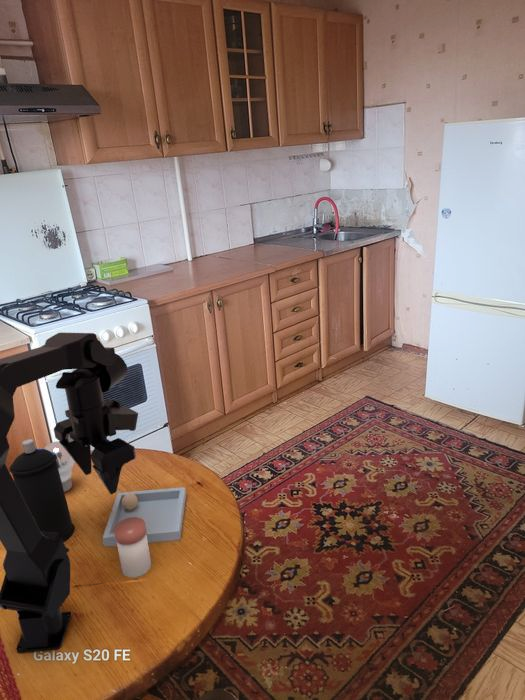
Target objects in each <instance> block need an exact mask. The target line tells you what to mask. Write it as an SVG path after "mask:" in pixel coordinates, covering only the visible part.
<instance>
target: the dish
mask: <svg viewBox="0 0 525 700" xmlns="http://www.w3.org/2000/svg"><path fill="white" fill-rule="evenodd" d="M186 491H187V490H186V487H185V486H184V487H183V486H182V487H170V488H159V489H158V488H157V489H149V490H136V491H126V492H125V491H124V492H118V493H117V495H116V497H115V500H114V502H113V504H112V505H113V506H112V509H111V511H110V515H109V518H108V520H107V523H106V526H105V528H104V533H103V536H102V542H103V543H102V544H103V546H104V547H105V548H106V547H117V541H116V539H115V534H114V527H115V526H116V524H117V523H119V522H120V521H122V520H124V519H126V518H130V517H138V518H141V519H143V520H144V521H145V525H146V535H147V541H148V544H150V543H151V544H152V543H161V542H172V541H174V542H175V541H181V538H182V537H181V536H182V530H183V529H182V528H183V522H184V513H185V507H186V499H187V492H186ZM130 493H131V494H134V495H136V497H137V498H138V504H137V506H136V507H135V508H134V509H132V510H127V509H125V508H124V507H123V506H122V499H123V497H124V496H125V495H126V494H130Z"/></svg>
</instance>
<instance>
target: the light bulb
mask: <svg viewBox="0 0 525 700" xmlns="http://www.w3.org/2000/svg"><path fill="white" fill-rule="evenodd" d="M43 449H46V450H48V451H51V452H53V453H55V454H56V456H57V459H56V462H57V466H58V470H59V474H60V478H61V482H62V485H63V489H64V493H66V492H68V491H70V489H72V487H73V482H72V469H73V467H74V465H75V463H76V462H75V461H74V460H73V458H72V457H71V456H70V455H69V453H68V452H67V451H66V450H65V448H64V447H63V446H62V445H61V444H60V443H59V440H58V441H53V442H50V443H48V444H47V445H46V446H45V447H44V448H43Z"/></svg>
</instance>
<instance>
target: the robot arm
mask: <svg viewBox="0 0 525 700" xmlns="http://www.w3.org/2000/svg"><path fill="white" fill-rule="evenodd" d="M65 370H72V371H71V372H69V371H67V372H66V371H65ZM61 371H63V372H62V373H61V376H60V378H59V379H58V380H57V382H56V384H55V388H56V389H57V390H58V389H61V390H64V391H65V395H66V402H67V407H68V409H67V410H65V411H64V415H65V417H66V418H67V419H64V420H61V421H59V422H57V423H56V425H55V426H54V427H53V432H54V438H55V439H56V440H58V441H59V443H60V444H61V445H62V446H63V447H64V448H65V450H66V451H67V452H68V453H69V455H70V456H71V457H72V458H73V460H74V461H75V462H74V463H75V464H76V465H77V466H78V468H79V469H80V470H81V471H82V473H83V474H84V475H85V476H89V475H91V473H92V468H93V470H94V471H95V473H96V474H97V476H98V477H99V479H100V480H101V482H102V484H103V485H104V486H105V489H106V490H107V491H108V493H109V494H110V495H113V494H115V493H116V492H117V490H118V486H119V481H120V476H121V471H122V470H123V469H122V468H123V466H124V465H126V464H128V463H130V462H131V461H133V460H135V459H136V457H137V455H136V449H135V446H134V445H132V444H130V442H129V443H128V442H127V441H125V440H124V439H121V438H120V437H116V438H115V439H112V440H110V439H108V437H113V436H115V435H117V431H131V432H135V430H136V428H137V422H138V418H139V412H137V411H135V410H133V409H131V408H129V407H125V406H123V405H121V404H120V401H118V400H116V399H112V398H110V399H107V400H106V402H105V403H104V395H103V393H105V392H107V391H109V390H111V389H112V388H113V387H114V386H115V385H117V384H118V383H119V382H121V381H122V380H123V379H124V378H126V375H127V374H128V365H127V363H126V362H125V360H124V359H123V358H122V357H121V356H120V354H117V353H116V351H115V347H109V346H108V347H105V346H104V345H103V343H102V342H101V341H100V340H99V339H98V337H97V334H96V333H93V332H58V333H56V334H54V335H52V336H50V337H49V338H48V339H46V340H45V342H44V345H41V346H39V347H36V348H32V349H29V350H25V351H24V352H23V351H22V352H19V353H16V354H12V355H9V356H5V357H2V358H0V542H1V544H2V546H3V548H4V549H5V551H6V552H5V557H4V560H3V562H2V567H3V570H4V572H5V575H4V577H3V578H4V579H3V581H2V584H1V588H0V608H1V609H2V610H11V611H15V612H16V614H17V617H18V618H17V620H18V623H19V626H20V627H19V628H20V630H21V633H22V634H21V637H20V639H19V641H18V643H17V646H16V648H15V650H16V653H27V652H38V651H48V650H49V651H51V650H58V649H60V648H61V647H62V644H63V642H64V639H65V636H66V633H67V630H68V627H69V625H70V621H71V618H72V612H71V611H62V610H61V607H62V606H63V604H64V603H65V601H66V600H67V599H68V597H69V596H70V594H71V561H70V556H69V554H68V553H69V552H70V548H68V547H67V546H66V545H65V541H64V542H63V538H62V537H61V535H60V534H59V533H52V532H44V531H40V530H39V528H38V526H37V524H36V522H35V520H34V518H33V516H32V514H31V512H30V511H29V509H28V507H27V505H26V503H25V501H24V499H23V497H22V495H21V493H20V491H19V490H18V488H17V486H16V484H15V482H14V479H13V475H11V474H12V473H11V472H10V470H9V469H8V467H7V464H6V461H7V458H8V453H9V451H10V444H9V441H8V438H7V436H8V433H9V431H10V429H11V427H12V424H13V423H14V420H15V407H14V395H15V393H16V391H17V389H18V388H20V387H22V386H25V385H28V384H30V383H33V382H35V381H37V380H40V379H44V378H46V377H48V376H51V375H53V374H56V373H58V372H61ZM91 447H92V448H93V450H91V449H92V448H91ZM91 451H92V452H91ZM92 464H93V465H92Z"/></svg>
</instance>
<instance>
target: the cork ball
mask: <svg viewBox="0 0 525 700" xmlns="http://www.w3.org/2000/svg"><path fill="white" fill-rule="evenodd" d="M137 504H138V498H137V497H136V495H134V494H131V493H130V494H126V495H125V496H124V497H123V499H122V506H123V507H124V508H125V509H127V510H132V509H134V508H135V507H136V506H137Z"/></svg>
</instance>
